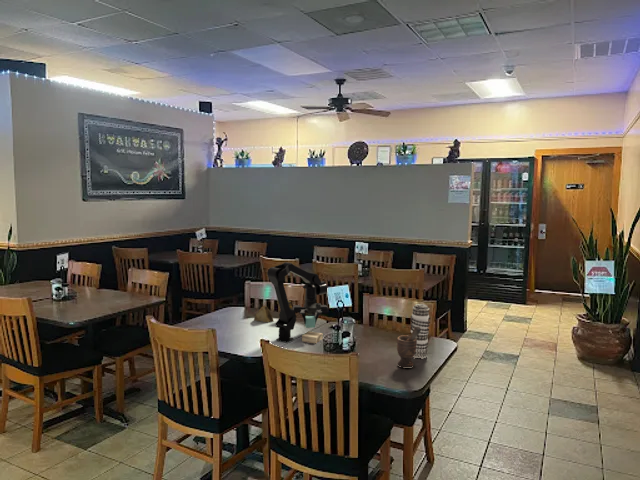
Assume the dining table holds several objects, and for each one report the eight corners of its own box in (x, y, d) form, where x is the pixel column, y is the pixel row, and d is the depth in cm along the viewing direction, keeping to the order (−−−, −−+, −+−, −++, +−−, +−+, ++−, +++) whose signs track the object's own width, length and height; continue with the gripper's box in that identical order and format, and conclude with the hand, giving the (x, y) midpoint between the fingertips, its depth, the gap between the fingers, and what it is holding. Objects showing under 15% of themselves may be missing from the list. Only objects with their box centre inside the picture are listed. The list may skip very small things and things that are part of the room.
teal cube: (305, 327, 257) (306, 318, 256) (304, 325, 262) (305, 316, 261) (315, 327, 258) (315, 318, 257) (313, 324, 263) (314, 315, 262)
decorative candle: (414, 351, 236) (416, 301, 234) (431, 356, 230) (434, 305, 228) (404, 356, 229) (407, 304, 227) (422, 360, 223) (425, 308, 221)
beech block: (316, 344, 244) (316, 337, 243) (301, 341, 247) (302, 335, 247) (322, 340, 251) (322, 333, 250) (308, 337, 254) (309, 331, 254)
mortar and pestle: (424, 367, 215) (427, 324, 212) (416, 373, 208) (418, 328, 206) (401, 361, 221) (403, 319, 219) (392, 366, 215) (394, 323, 212)
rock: (248, 317, 281) (259, 318, 274) (255, 304, 284) (265, 305, 277) (261, 325, 287) (271, 327, 280) (267, 313, 291) (277, 314, 283)
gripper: (295, 299, 249) (294, 328, 250) (330, 299, 252) (329, 328, 253) (293, 294, 260) (292, 322, 261) (326, 294, 262) (326, 322, 264)
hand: (310, 324), depth 260 cm, fingers closed on teal cube, 5 cm apart
